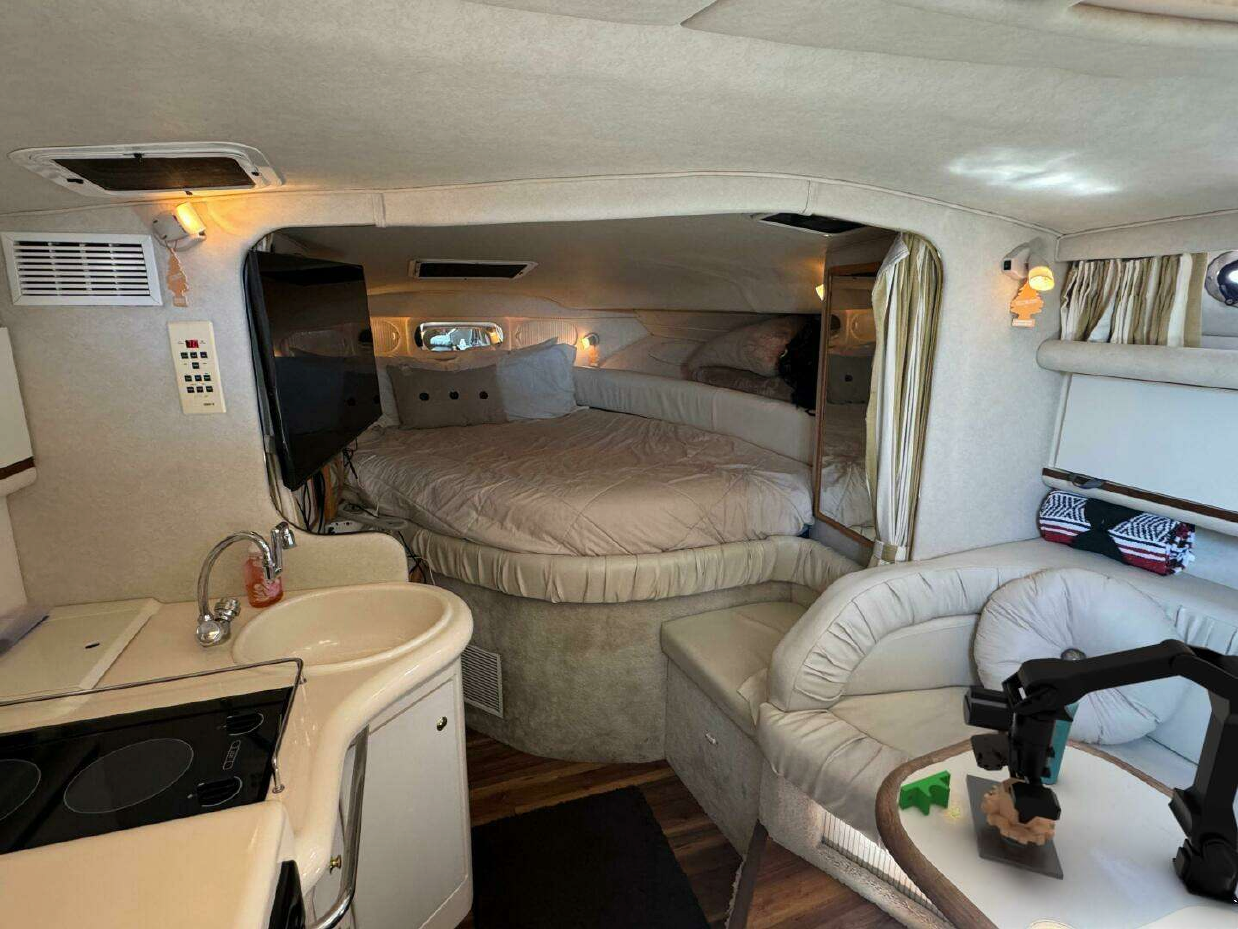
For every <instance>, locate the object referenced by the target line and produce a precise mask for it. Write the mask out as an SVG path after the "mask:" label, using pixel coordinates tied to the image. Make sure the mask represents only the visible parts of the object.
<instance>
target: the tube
mask: <svg viewBox="0 0 1238 929" xmlns="http://www.w3.org/2000/svg"><path fill="white" fill-rule="evenodd" d="M1079 706H1080V701H1077V702H1076V703H1074V704H1071V705H1068V706H1067V707H1068V709H1069V711H1070V713H1071V715H1072V717H1073V719H1075V716H1076V713H1077V711H1078V708H1079ZM1072 725H1073V722H1066V721H1061V720H1057V723H1056V728H1055V733H1054V738H1053V744H1052V746H1053V748H1054V751H1055V757H1054V758H1051V757H1050V759H1049V764H1048V766H1049V769H1050V772H1051V777H1050V779H1049V778H1044V777H1041V780H1042V783H1043V784H1049V785H1050V784H1052V785H1053V784H1055V783H1057V782H1058V780H1059V779H1058V778H1059V775H1060V774H1059V773H1060V771H1061V765H1062V762H1063V758H1064V753H1065V750H1066V746H1067V743H1068V738H1069V734H1070V732H1071V728H1072Z"/></svg>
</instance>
